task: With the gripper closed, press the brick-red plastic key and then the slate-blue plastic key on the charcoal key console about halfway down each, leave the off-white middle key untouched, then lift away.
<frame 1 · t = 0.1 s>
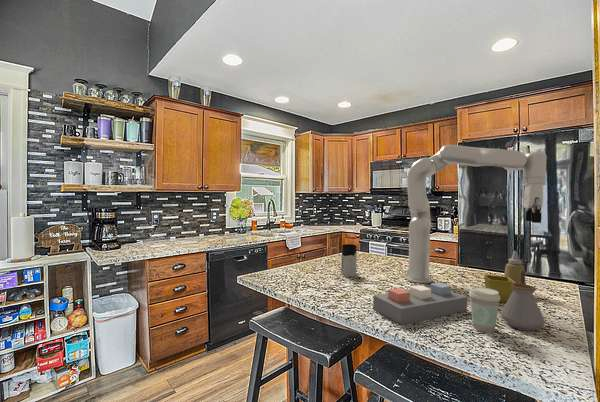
hand: (533, 221, 128), 31 cm above the countertop, tool pointing down, fingers open, 9 cm apart
key white: (420, 294, 108), point 6 cm above the countertop, slide at 0.0 cm
coffee pot: (521, 321, 100), on the countertop
key blue: (440, 291, 112), point 5 cm above the countertop, slide at 0.0 cm
glass holder: (343, 274, 157), on the countertop
console: (419, 309, 108), on the countertop
coffee cup: (483, 329, 94), on the countertop
key red: (398, 298, 104), point 6 cm above the countertop, slide at 0.0 cm
flower pot: (498, 300, 120), on the countertop
squeeze bottle: (514, 292, 131), on the countertop
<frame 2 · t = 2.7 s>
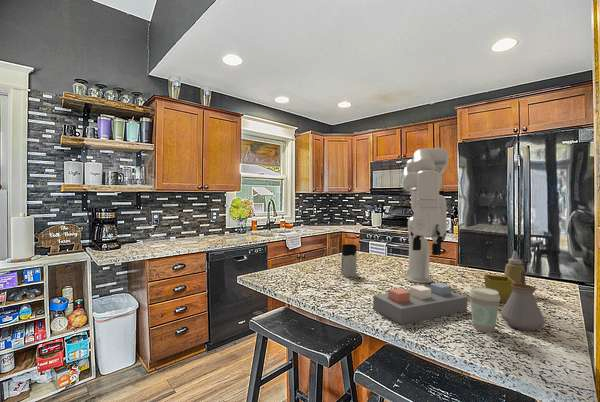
hand: (426, 252, 107), 21 cm above the countertop, tool pointing down, fingers open, 9 cm apart
nothing on the countertop moved.
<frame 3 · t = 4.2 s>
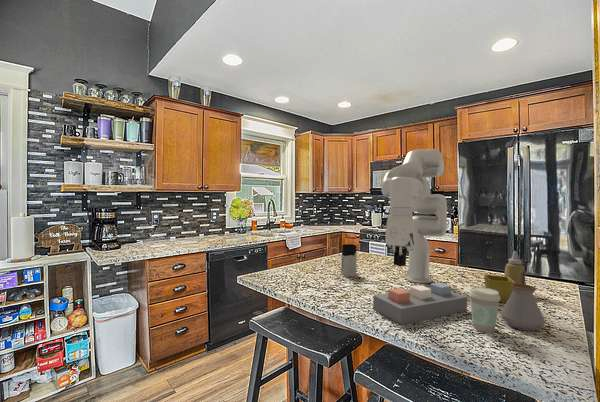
hand: (399, 265, 104), 17 cm above the countertop, tool pointing down, fingers closed
nothing on the countertop moved.
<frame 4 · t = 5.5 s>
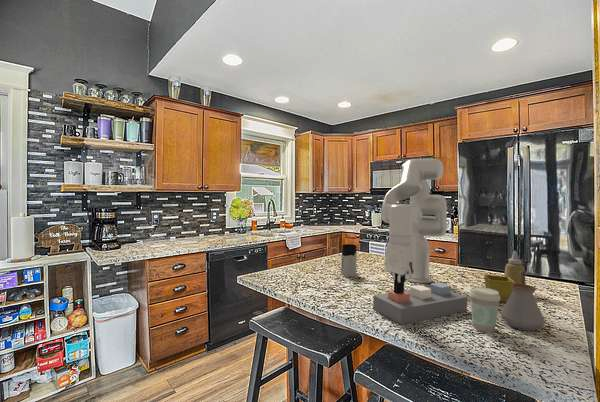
hand: (398, 292, 104), 8 cm above the countertop, tool pointing down, fingers closed
key red: (398, 299, 104), point 5 cm above the countertop, slide at 0.5 cm, touching gripper
everything else where it was.
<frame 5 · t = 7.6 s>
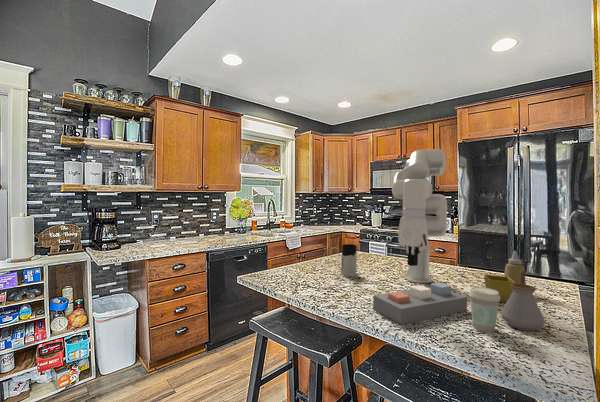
hand: (412, 265, 107), 17 cm above the countertop, tool pointing down, fingers closed
key red: (398, 301, 104), point 4 cm above the countertop, slide at 1.3 cm
everything else where it was.
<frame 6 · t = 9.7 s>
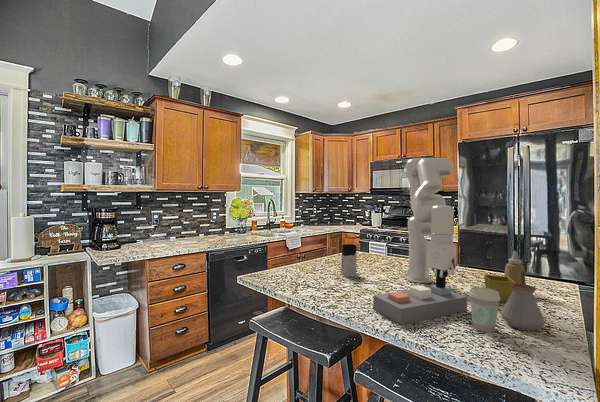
hand: (440, 287, 112), 7 cm above the countertop, tool pointing down, fingers closed
key blue: (440, 293, 112), point 5 cm above the countertop, slide at 0.8 cm, touching gripper
everything else where it was.
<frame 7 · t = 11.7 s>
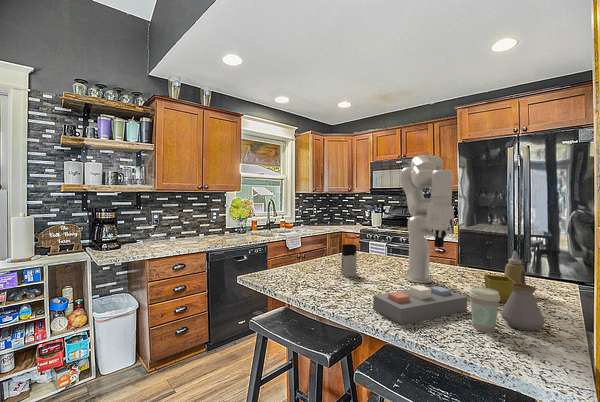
hand: (438, 246, 120), 21 cm above the countertop, tool pointing down, fingers closed
key blue: (440, 295, 112), point 4 cm above the countertop, slide at 1.5 cm
everything else where it was.
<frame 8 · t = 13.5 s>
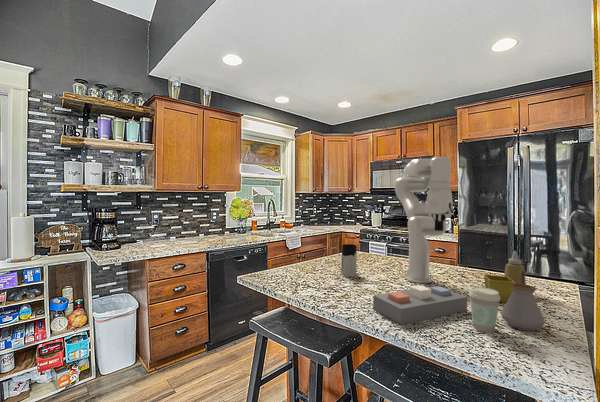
hand: (438, 230, 125), 27 cm above the countertop, tool pointing down, fingers closed
nothing on the countertop moved.
at the end: key red slide at 1.3 cm; key blue slide at 1.5 cm; key white slide at 0.0 cm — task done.
